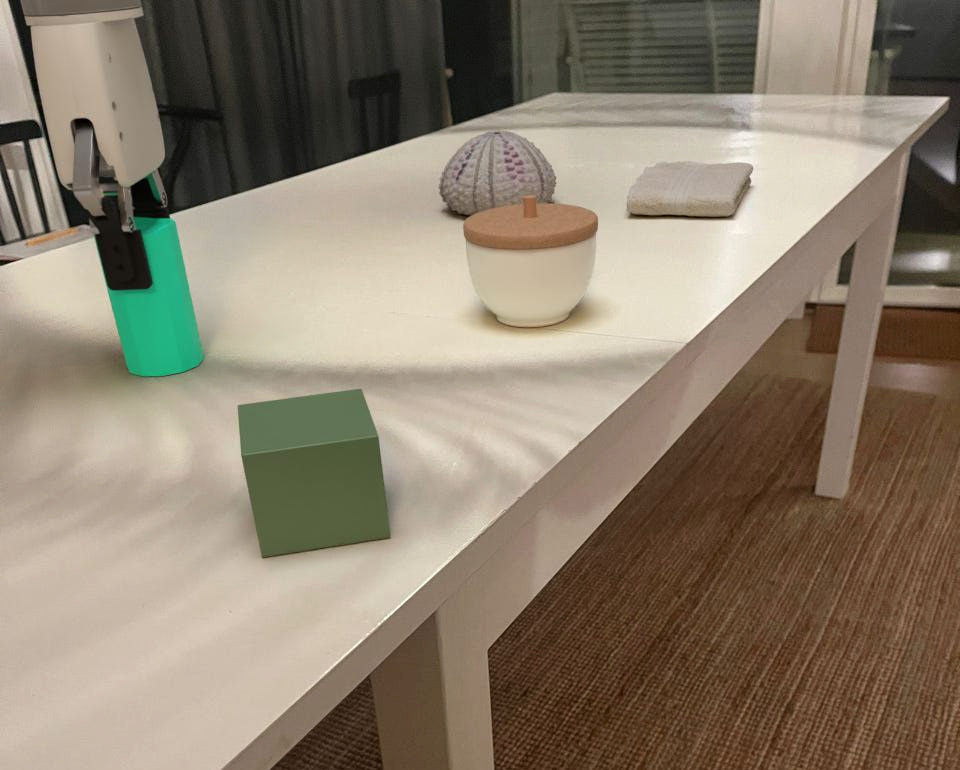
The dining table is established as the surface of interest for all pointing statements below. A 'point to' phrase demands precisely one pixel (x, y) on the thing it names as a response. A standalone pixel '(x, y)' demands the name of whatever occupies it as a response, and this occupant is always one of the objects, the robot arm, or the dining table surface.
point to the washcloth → (689, 189)
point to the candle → (158, 308)
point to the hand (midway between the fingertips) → (144, 273)
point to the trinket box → (531, 260)
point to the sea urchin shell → (495, 174)
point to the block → (313, 472)
